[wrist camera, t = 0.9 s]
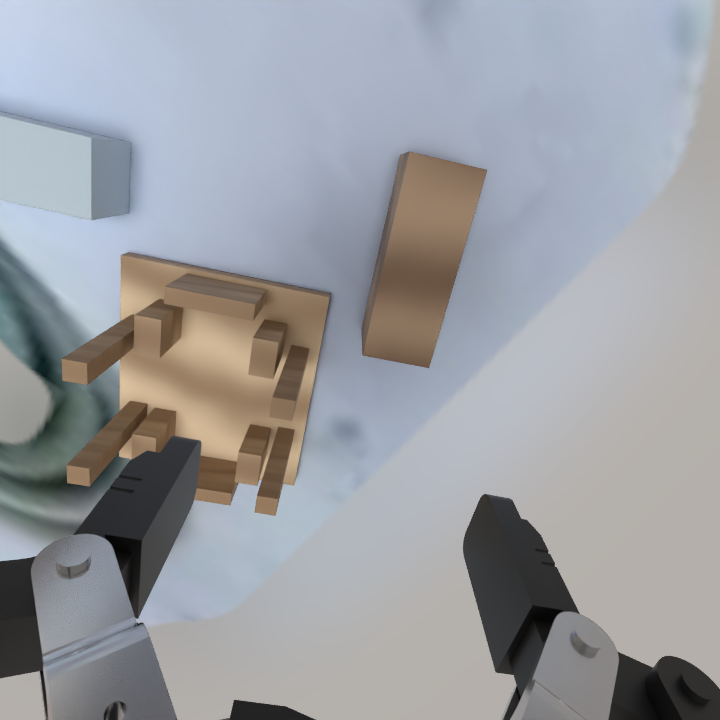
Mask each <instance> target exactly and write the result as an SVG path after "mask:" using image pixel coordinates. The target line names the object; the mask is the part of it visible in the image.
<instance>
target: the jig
mask: <svg viewBox="0 0 720 720" xmlns="http://www.w3.org/2000/svg"><path fill="white" fill-rule="evenodd" d="M329 299H330V293H325V292H320V291H316V290H311V289H306V288H301V287H296V286H291V285H286V284H281V283H276V282H271V281H266V280H261V279H257V278H252V277H247V276H242V275H237V274H232V273H227V272H222V271H217V270H212V269H207V268H202V267H197V266H193V265H188V264H183V263H178V262H173V261H168V260H163V259H158V258H153V257H148V256H143V255H138V254H134V253H129V252H128V253H126V254H123V255H121V313H120V322H119V323H117V324H116V325H114V326H112V327H111V328H109V329H108V330H106V331H105V332H103V333H101V334H100V335H98V336H97V337H95V338H94V339H92V340H91V341H89V342H87V343H86V344H84V345H83V346H81V347H80V348H78V349H76V350H75V351H73V352H72V353H70V354H69V355H67V356H65V357H64V358H62V376H63V381H68V382H74V383H80V384H85V385H88V384H89V383H90V382H92V381H93V380H94V379H95V378H97V377H98V376H99V375H100V374H102V373H103V372H104V371H105V370H107V369H108V368H109V367H110V366H112V365H113V364H114V363H115V362H117V361H118V360H119V359H120V411H119V412H118V413H117V414H116V415H115V416H114V417H113V419H112V420H111V421H110V422H109V423H108V424H107V425H106V426H105V427H104V428H103V429H102V430H101V431H100V432H99V433H98V434H97V435H96V436H95V437H94V438H93V439H92V440H91V441H90V442H89V443H88V444H87V445H86V446H85V447H84V448H83V449H82V450H81V451H80V452H79V453H78V454H77V455H76V456H75V457H74V458H73V459H72V460H71V461H70V462H69V463H68V464H67V483H72V484H78V485H85V486H90V485H91V484H92V483H93V482H94V481H95V479H96V478H97V477H98V476H99V475H100V474H101V472H102V471H103V470H104V469H105V468H106V466H107V465H108V464H109V463H110V462H111V461H112V459H113V458H114V457H115V456H116V455H117V453H118V452H119V457H124V458H130V459H134V458H135V457H137V456H139V455H140V454H142V453H144V452H145V451H147V450H148V451H153V452H159V453H160V452H161V451H162V449H163V448H164V446H165V445H166V443H167V442H168V441H169V439H170V438H171V437H172V436H179V437H184V438H190V439H195V440H200V441H201V444H202V445H201V456H200V465H199V474H198V483H197V490H196V494H195V498H194V500H199V501H206V502H212V503H218V504H224V505H230V504H231V502H232V499H233V496H234V494H235V491H236V488H237V486H238V483H243V484H249V485H256V486H257V484H258V481H259V480H262V482H261V485H260V488H259V491H258V495H257V500H256V507H255V513H262V514H268V515H274V516H275V515H276V511H277V507H278V502H279V498H280V494H281V490H282V485H283V484H288V485H294V484H295V479H296V473H297V468H298V463H299V458H300V452H301V447H302V442H303V436H304V431H305V426H306V421H307V415H308V410H309V405H310V400H311V394H312V389H313V384H314V379H315V373H316V368H317V363H318V357H319V352H320V347H321V342H322V336H323V331H324V326H325V321H326V315H327V310H328V305H329Z"/></svg>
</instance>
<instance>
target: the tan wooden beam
mask: <svg viewBox="0 0 720 720" xmlns="http://www.w3.org/2000/svg"><path fill="white" fill-rule="evenodd" d="M486 173H487V170H485V169H481V168H477V167H472V166H468V165H464V164H460V163H455V162H451V161H447V160H443V159H438V158H434V157H430V156H426V155H421V154H417V153H413V152H407V153H405V154H402V155H400V159H399V163H398V168H397V172H396V177H395V181H394V186H393V190H392V195H391V199H390V204H389V208H388V213H387V217H386V221H385V226H384V230H383V235H382V239H381V244H380V248H379V253H378V257H377V262H376V266H375V271H374V275H373V279H372V284H371V288H370V293H369V297H368V302H367V306H366V311H365V315H364V320H363V324H362V353H363V355H364V356H369V357H374V358H379V359H384V360H390V361H395V362H400V363H405V364H410V365H416V366H421V367H426V368H429V366H430V363H431V359H432V356H433V353H434V349H435V346H436V342H437V339H438V336H439V332H440V329H441V325H442V322H443V319H444V315H445V312H446V308H447V305H448V302H449V298H450V295H451V292H452V288H453V285H454V281H455V278H456V275H457V271H458V268H459V264H460V261H461V258H462V254H463V251H464V247H465V244H466V241H467V237H468V234H469V230H470V227H471V224H472V220H473V217H474V213H475V210H476V207H477V203H478V200H479V196H480V193H481V190H482V186H483V183H484V180H485V176H486Z"/></svg>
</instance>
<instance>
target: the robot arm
mask: <svg viewBox="0 0 720 720" xmlns="http://www.w3.org/2000/svg"><path fill="white" fill-rule="evenodd" d="M201 445H202V444H201V441H200V440H195V439H190V438H184V437H179V436H172V437H171V438H170V439H169V441H168V442H167V443H166V445H165V446H164V448H163V449H162V451H161V452H160V453H159V452H153V451H148V450H147V451H145V452H144V453H142V454H140V455H139V456H137V457H135V458H134V459H132V460H131V461H129V463H128V464H127V465H126V467H125V468H124V469H123V471H122V472H121V473H120V475H119V477H118V478H116V480H115V481H114V482H113V484H112V485H111V487H110V489H108V490H107V492H106V493H105V494H104V496H103V497H102V498H101V499H100V501H99V502H98V503H97V505H96V506H95V507H94V509H93V510H92V511H91V513H90V514H89V515H88V517H87V518H86V519H85V520H84V522H83V523H82V524H81V526H80V527H79V528H78V530H77V531H76V532H75V533H74V535H71V536H67V537H64V538H62V539H59V540H57V541H55V542H53V543H51V544H50V545H48V546H47V547H46V548H44V549H43V550H42V551H41V552H40V553H39V554H38V555H37V556H36V557H31V558H26V559H19V560H9V561H0V678H4V677H9V676H15V675H20V674H25V673H31V672H36V671H39V676H40V684H41V691H42V699H43V705H44V714H45V720H177V717H176V714H175V711H174V708H173V705H172V702H171V699H170V696H169V693H168V690H167V687H166V684H165V681H164V678H163V675H162V672H161V669H160V666H159V663H158V660H157V657H156V654H155V651H154V648H153V645H152V642H151V639H150V636H149V633H148V631H147V628H146V626H145V625H144V623H139V624H138V623H137V621H136V619H135V618H137V619H138V617H139V615H140V613H141V611H142V609H143V607H144V605H145V603H146V601H147V599H148V597H149V594H150V592H151V590H152V588H153V586H154V584H155V582H156V580H157V578H158V576H159V574H160V572H161V569H162V567H163V565H164V563H165V561H166V559H167V557H168V555H169V553H170V551H171V549H172V547H173V544H174V542H175V540H176V538H177V536H178V534H179V532H180V530H181V528H182V526H183V524H184V522H185V519H186V517H187V515H188V513H189V511H190V509H191V507H192V504H193V501H194V498H195V494H196V490H197V483H198V474H199V465H200V456H201ZM463 553H464V558H465V562H466V565H467V569H468V573H469V577H470V580H471V584H472V587H473V591H474V595H475V598H476V602H477V605H478V609H479V613H480V617H481V620H482V624H483V628H484V631H485V635H486V638H487V642H488V646H489V650H490V653H491V657H492V660H493V664H494V667H495V671H496V672H497V673H504V674H511V675H514V678H515V680H516V684H517V685H516V686H515V688H514V690H513V692H512V693H511V696H510V698H509V701H508V703H507V706H506V708H505V711H504V713H503V715H502V718H501V720H720V689H719V688H718V687H717V685H716V684H715V683H714V682H713V681H712V680H711V679H710V678H709V677H708V676H707V675H706V674H704V673H703V672H702V671H701V670H700V669H698V668H697V667H695V666H694V665H692V664H691V663H689V662H687V661H685V660H682V659H680V658H677V657H673V656H665V657H662V658H661V659H660V660H659V661H658V662H657V663H656V665H655V666H654V667H653V668H652V667H650V666H648V665H646V664H643V663H641V662H639V661H637V660H634V659H632V658H630V657H628V656H625V655H624V654H621V653H619V652H617V650H616V647H615V645H614V643H613V642H612V640H611V639H610V637H609V636H608V635H607V633H606V632H605V631H604V630H603V629H602V628H601V627H600V626H598V625H597V624H596V623H595V622H593V621H592V620H590V619H589V618H587V617H585V616H583V615H581V614H580V613H579V612H578V610H577V607H576V605H575V604H574V602H573V599H572V598H571V595H570V593H569V591H568V589H567V587H566V585H565V583H564V581H563V579H562V577H561V575H560V573H559V571H558V569H557V567H555V563H554V561H553V559H552V557H551V555H550V554H548V549H547V547H546V545H545V543H544V541H543V539H542V537H541V535H540V534H539V533H538V532H537V531H536V529H535V528H534V527H533V526H532V525H531V524H530V523H529V522H528V521H527V520H524V519H521V518H520V515H519V513H518V511H517V509H516V507H515V505H514V503H513V501H512V500H511V499H509V498H504V497H498V496H492V495H487V494H484V495H483V496H482V497H481V498H480V500H479V502H478V505H477V507H476V510H475V512H474V514H473V517H472V519H471V521H470V524H469V526H468V528H467V531H466V534H465V537H464V543H463ZM222 720H315V719H313V718H310V717H308V716H306V715H304V714H301V713H299V712H297V711H295V710H293V709H290V708H288V707H285V706H278V705H270V704H262V703H254V702H247V701H239V700H234V703H233V707H232V711H231V716H230V718H227V719H222Z"/></svg>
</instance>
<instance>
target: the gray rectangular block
mask: <svg viewBox="0 0 720 720" xmlns="http://www.w3.org/2000/svg"><path fill="white" fill-rule="evenodd" d="M130 160H131V143H130V142H125V141H121V140H117V139H113V138H109V137H105V136H101V135H96V134H92V133H88V132H84V131H80V130H76V129H72V128H67V127H63V126H59V125H55V124H51V123H47V122H43V121H39V120H34V119H30V118H26V117H22V116H18V115H14V114H10V113H5V112H1V111H0V200H3V201H7V202H12V203H16V204H21V205H25V206H30V207H34V208H39V209H43V210H47V211H52V212H56V213H61V214H65V215H70V216H74V217H79V218H83V219H88V220H96V219H101V218H106V217H111V216H117V215H122V214H127V213H129V193H130Z"/></svg>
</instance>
